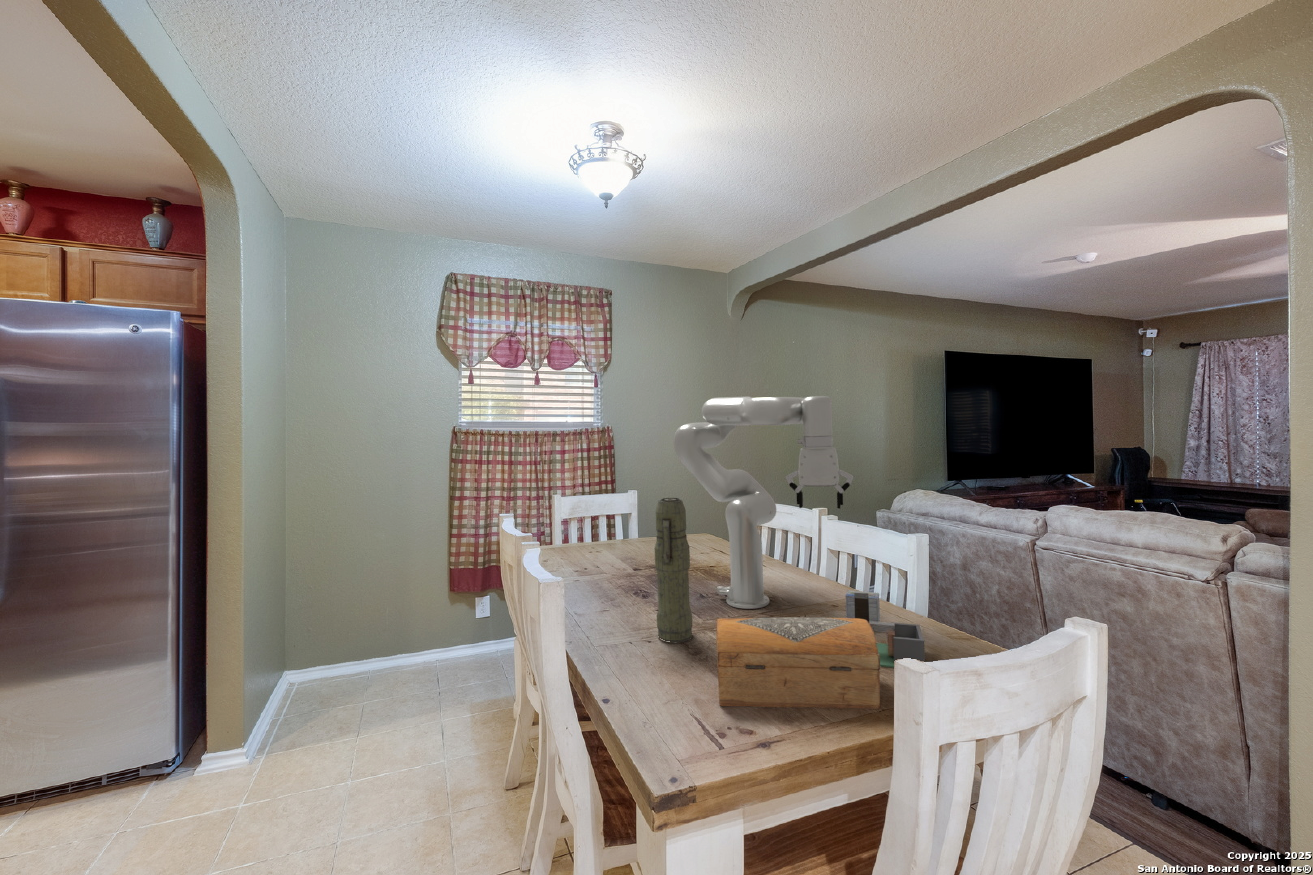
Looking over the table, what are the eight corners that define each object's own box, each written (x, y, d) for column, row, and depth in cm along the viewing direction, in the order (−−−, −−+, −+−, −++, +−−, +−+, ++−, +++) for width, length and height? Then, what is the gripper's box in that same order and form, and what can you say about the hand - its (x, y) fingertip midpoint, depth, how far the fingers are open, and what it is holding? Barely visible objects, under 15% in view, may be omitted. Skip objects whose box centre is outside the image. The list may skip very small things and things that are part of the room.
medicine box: (880, 625, 142) (879, 592, 142) (879, 631, 138) (878, 597, 138) (848, 622, 146) (847, 589, 145) (846, 628, 142) (845, 594, 141)
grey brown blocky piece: (825, 649, 127) (824, 596, 126) (826, 642, 131) (825, 590, 131) (895, 656, 122) (894, 600, 121) (894, 648, 126) (893, 594, 126)
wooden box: (860, 671, 118) (858, 607, 117) (882, 712, 101) (880, 637, 101) (719, 669, 121) (716, 606, 121) (718, 707, 105) (715, 635, 105)
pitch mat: (850, 663, 121) (850, 661, 121) (850, 642, 133) (850, 640, 133) (920, 670, 117) (920, 668, 117) (914, 648, 128) (914, 646, 128)
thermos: (694, 627, 145) (689, 495, 145) (690, 646, 134) (685, 502, 133) (661, 627, 147) (656, 496, 146) (654, 645, 135) (648, 502, 134)
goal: (894, 665, 119) (893, 638, 119) (891, 647, 128) (890, 622, 128) (925, 668, 117) (924, 640, 117) (920, 650, 126) (919, 624, 126)
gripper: (782, 444, 145) (784, 509, 146) (852, 442, 140) (854, 510, 140) (786, 443, 152) (788, 504, 153) (852, 441, 147) (854, 505, 147)
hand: (819, 507), depth 146 cm, fingers open, 9 cm apart
